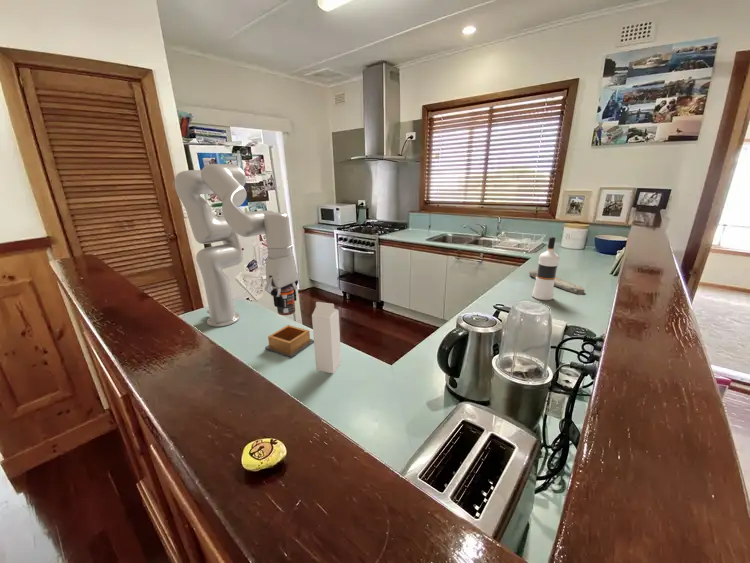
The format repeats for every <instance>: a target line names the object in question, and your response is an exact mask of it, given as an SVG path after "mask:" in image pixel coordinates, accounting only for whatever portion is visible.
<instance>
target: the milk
mask: <svg viewBox="0 0 750 563" xmlns="http://www.w3.org/2000/svg"><path fill="white" fill-rule="evenodd" d="M339 313H340V312H339V309H337V308H335V304H334V303H330V302H329V303H327V302H320V301H316V302H315V307H314V311H313V312H312V313H311V322H312V332H313V333H312V335H313V336H312V337H313V340H314V343H313V345H314V358H315V359H314V360H315V370H316V371H318V372H323V373H328V374H335V372H336V370H338V369H339V367H340V366H341V364H342V353H341V352H342V351H341V334H340V332H341V330H340V314H339ZM339 365H340V366H339Z"/></svg>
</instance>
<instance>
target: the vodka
mask: <svg viewBox="0 0 750 563" xmlns="http://www.w3.org/2000/svg"><path fill="white" fill-rule="evenodd" d="M548 238H549V239H548V245H547V250H545V251H543V252H542V253H540V255H539V257H538V262H537V263H538V264H537V265H538V266H537V270H536V271H537V277H536V279H535V282H534V287H533V290H532V293H531V295H532V297H533V298H534V299H536V300H539V301H551V300H552V299H553V298H554V289H555V288H554V287H555V286H554V282H555V276H557V272H558V271H557V270H558V265H559V261H560V256H559V255H558V253H556V252H555V251H554V249H555V243H556V237H555V236H554V237H553V236H550V237H548Z"/></svg>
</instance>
